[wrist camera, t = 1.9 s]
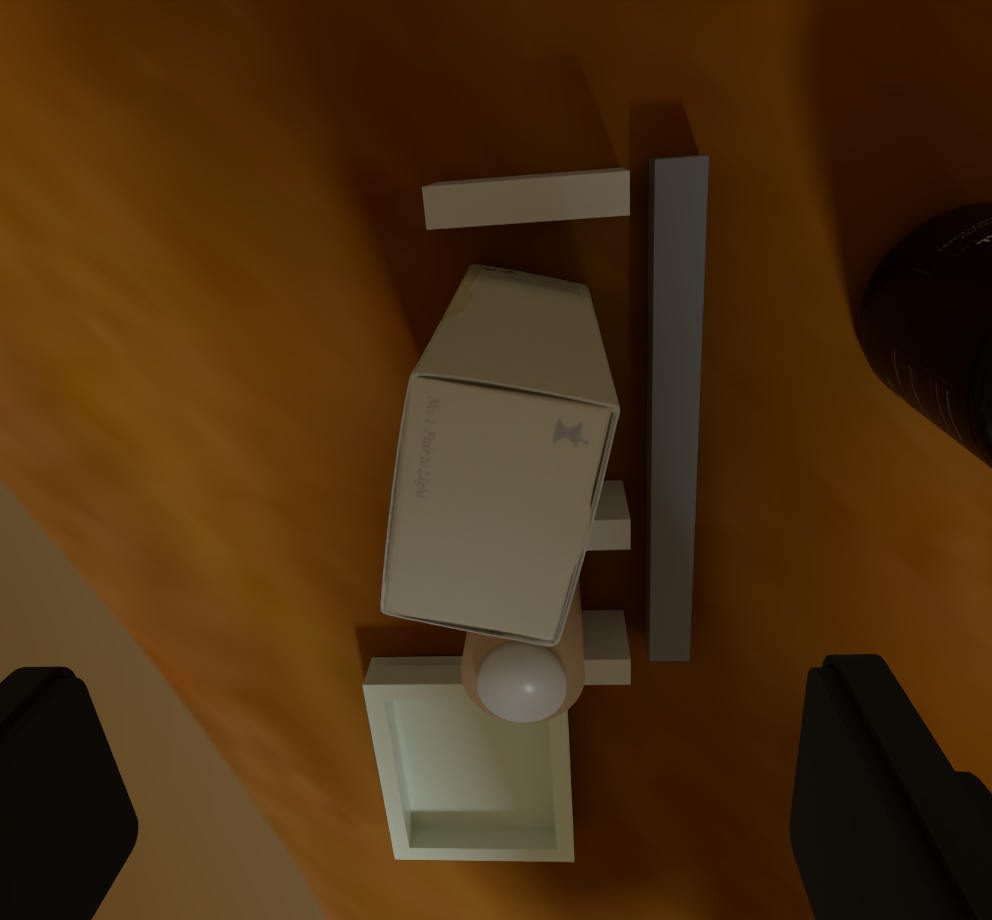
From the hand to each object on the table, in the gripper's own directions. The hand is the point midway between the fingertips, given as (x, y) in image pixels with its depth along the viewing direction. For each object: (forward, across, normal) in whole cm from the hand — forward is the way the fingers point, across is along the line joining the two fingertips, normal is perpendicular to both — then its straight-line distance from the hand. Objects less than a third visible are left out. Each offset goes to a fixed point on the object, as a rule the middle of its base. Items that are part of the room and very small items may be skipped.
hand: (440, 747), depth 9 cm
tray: (+18, +3, +19) cm, 26 cm away
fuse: (+18, 0, +9) cm, 20 cm away
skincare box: (+19, 0, 0) cm, 19 cm away
